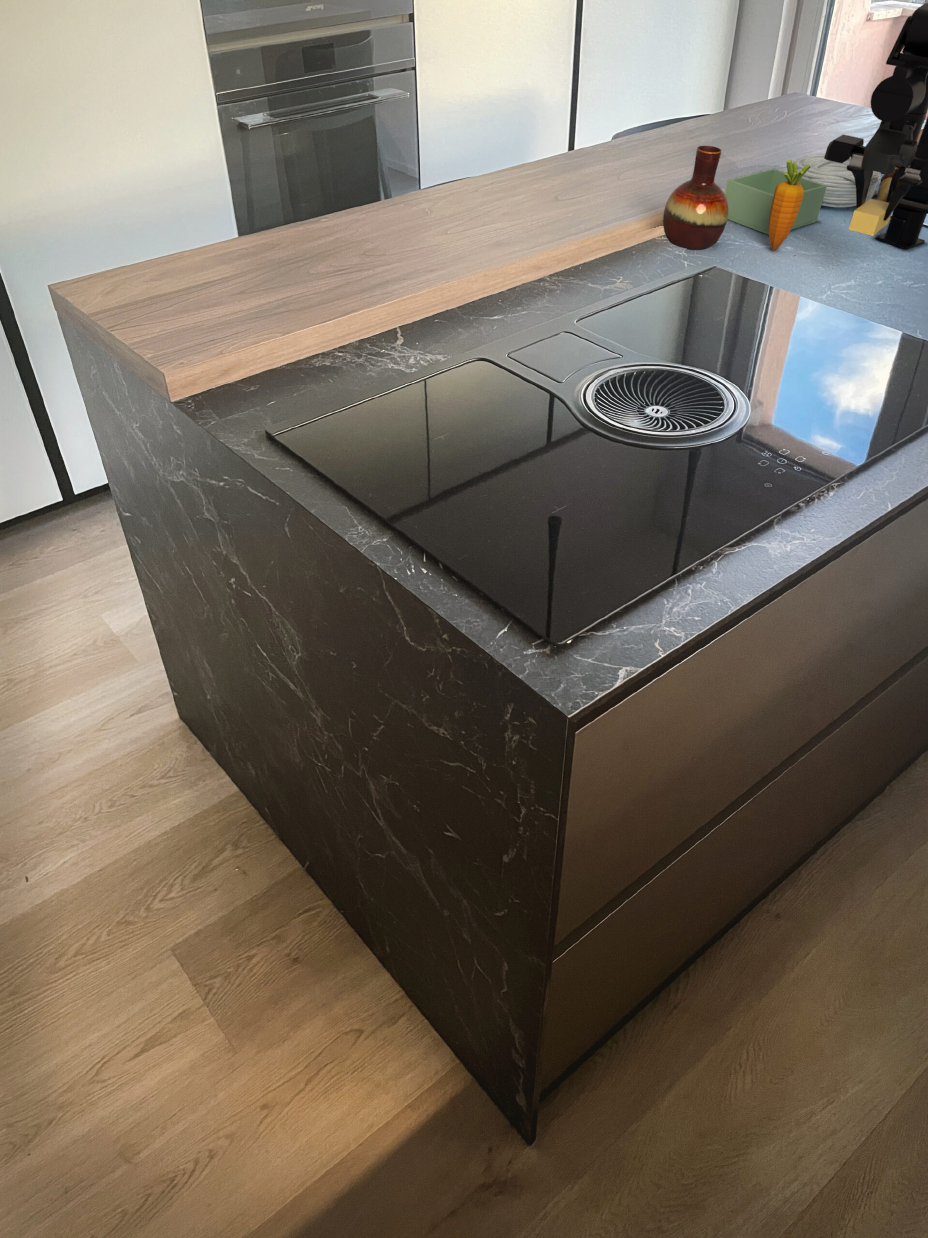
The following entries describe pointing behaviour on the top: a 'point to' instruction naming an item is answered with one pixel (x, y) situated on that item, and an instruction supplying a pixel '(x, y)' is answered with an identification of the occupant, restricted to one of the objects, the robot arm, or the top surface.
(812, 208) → the storage bin
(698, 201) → the vase
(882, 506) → the top surface
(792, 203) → the carrot
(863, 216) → the butter block
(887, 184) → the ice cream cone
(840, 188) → the cable
